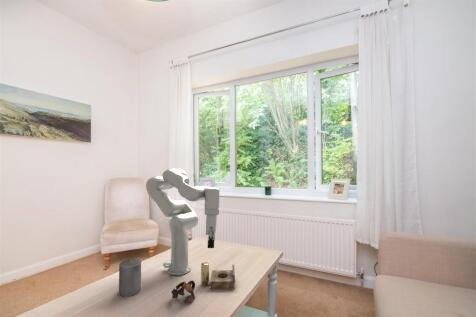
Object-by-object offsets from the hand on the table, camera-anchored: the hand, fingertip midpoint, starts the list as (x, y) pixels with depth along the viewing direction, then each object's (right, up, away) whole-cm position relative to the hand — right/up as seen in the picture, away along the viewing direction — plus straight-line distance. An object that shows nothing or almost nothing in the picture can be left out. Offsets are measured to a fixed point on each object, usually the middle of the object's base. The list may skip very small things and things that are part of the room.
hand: (211, 244), depth 121 cm
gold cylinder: (-3, -19, -2) cm, 20 cm away
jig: (+6, -19, -1) cm, 20 cm away
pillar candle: (-38, -19, -9) cm, 43 cm away
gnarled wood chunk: (-10, -19, -15) cm, 26 cm away
